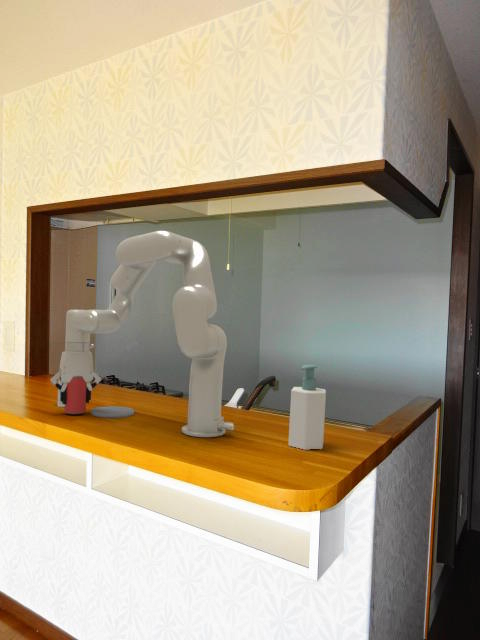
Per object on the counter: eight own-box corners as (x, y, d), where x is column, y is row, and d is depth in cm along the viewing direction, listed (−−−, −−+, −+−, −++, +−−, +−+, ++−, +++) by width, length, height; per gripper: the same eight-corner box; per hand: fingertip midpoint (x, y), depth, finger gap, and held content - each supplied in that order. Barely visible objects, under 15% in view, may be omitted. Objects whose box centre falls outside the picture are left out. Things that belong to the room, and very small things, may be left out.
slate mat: (141, 411, 169) (141, 408, 169) (120, 419, 155) (120, 416, 155) (105, 407, 173) (105, 404, 173) (81, 414, 159) (81, 411, 159)
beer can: (79, 415, 156) (80, 377, 156) (60, 413, 157) (61, 376, 157) (89, 411, 162) (90, 375, 162) (71, 410, 164) (72, 373, 164)
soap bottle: (280, 444, 136) (285, 364, 135) (300, 439, 142) (304, 362, 142) (312, 452, 129) (317, 368, 129) (330, 446, 136) (335, 366, 135)
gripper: (101, 347, 167) (100, 399, 167) (47, 346, 159) (45, 402, 159) (107, 348, 161) (105, 403, 161) (50, 348, 152) (48, 406, 152)
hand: (75, 402), depth 160 cm, fingers closed on beer can, 6 cm apart
